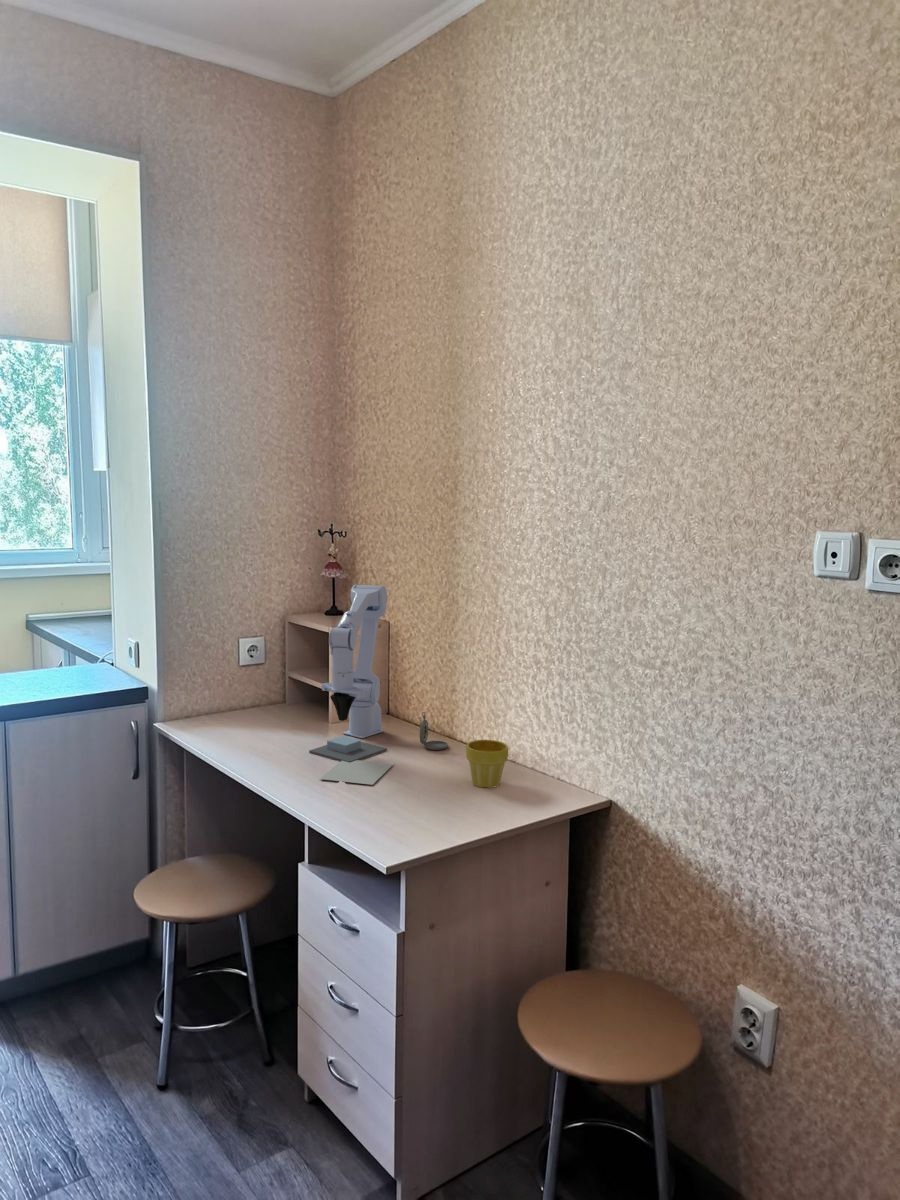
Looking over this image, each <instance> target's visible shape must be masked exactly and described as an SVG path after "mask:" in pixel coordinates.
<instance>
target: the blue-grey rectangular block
mask: <svg viewBox="0 0 900 1200" xmlns="http://www.w3.org/2000/svg"><path fill="white" fill-rule="evenodd" d="M361 742H362V740H359V739H357V738H352V737H349V736H344V735H341V736H338V737H334V738H331V739H329V740H326V745H327V749H331V750H335V751H339V752H342V753H348V752H351V751H354V750H357V749H360V748H361Z"/></svg>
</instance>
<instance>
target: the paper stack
mask: <svg viewBox="0 0 900 1200" xmlns="http://www.w3.org/2000/svg"><path fill="white" fill-rule="evenodd" d="M393 766H394V763H389V762H379V761H369V760H355V761H352V762H346V761H338V763H337V764H336V765H334V767H332V768H331V769H329V770H328V771H327V772H326V773H325V774H324V775H322V776H321V777H320V778H319V780H326V781H334V782H338V781H342V782H346V783H352V784H363V785H369V786H370V785H372V786H373V785H374V784H375V783H376V782H378V780H379V779H380V778H381V777H382V776H384V774H385V773H386V772H387V771H388V770H389V769H391V767H393Z"/></svg>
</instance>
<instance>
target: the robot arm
mask: <svg viewBox="0 0 900 1200" xmlns="http://www.w3.org/2000/svg"><path fill="white" fill-rule="evenodd" d="M350 602H351V606H350V608H349V610H348V611H345V612H344V614H343V615H342V617H341V619H340V620H339V622H338V624H337V626H336V627H334V628H332V629H331V630H330V632H329V635H328V645H329V648H330V649H329V651H330V655H331V656H332V658H331V659H332V660H331V662H332V665H331V669H332V671H331V673H332V674H331V675H332V681H331V682H324V683H323V682H322V683H321V691H324V692H326V691H327V692H331V693H333V694H330V700H331V701H332V704H333V705H334V709H335V710H336V714H337V718H338V720H339V721H340V722H341V721H342V722H344V721H347V720H349V722H348V723H349V724H348V725H349V726H348V730H345V731H342V734H344V735H347V736H351V737H355V738H358V739H364V738H368V737H371V736H374V735H377V734H379V733H382V732H384V729H382V708H381V705H380V704H379V703H378V702H379V699H380V695H381V688H380V686H381V680H380V678H379V677H378V675H376V673H374V672H373V666H374V665H373V664H374V657H375V649H376V643H377V642H376V641H377V635H378V627H379V621H380V618H381V617H382V616H384V615H385V614H386V609H387V603H388V591H387V588H386V586H385V585H384V584H383V585H371V584H369V585H366V584H363V585H362V584H354V585H353V586H352V587H351V590H350ZM359 630H360V635H358V632H359ZM358 636H359V644H358V649H357V650H358V651H357V657H356V666H355V669H354V649H355V648H356V645H357V641H358Z"/></svg>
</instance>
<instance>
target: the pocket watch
mask: <svg viewBox="0 0 900 1200" xmlns="http://www.w3.org/2000/svg"><path fill="white" fill-rule="evenodd" d="M421 715H422V718H423V720H422V721H421V722H420V728H419V742H420V744H422V745H423V747H424V748H425V749H428V750H432V751H433V750H435V751H440V750H444V749H447V748H448V746H449V743H447V742H446V741H444V740H429V741H427V740H428V737H429V723H428V720H426V717H427V716H426V713H425V711H423V712H422V713H421Z"/></svg>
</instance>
